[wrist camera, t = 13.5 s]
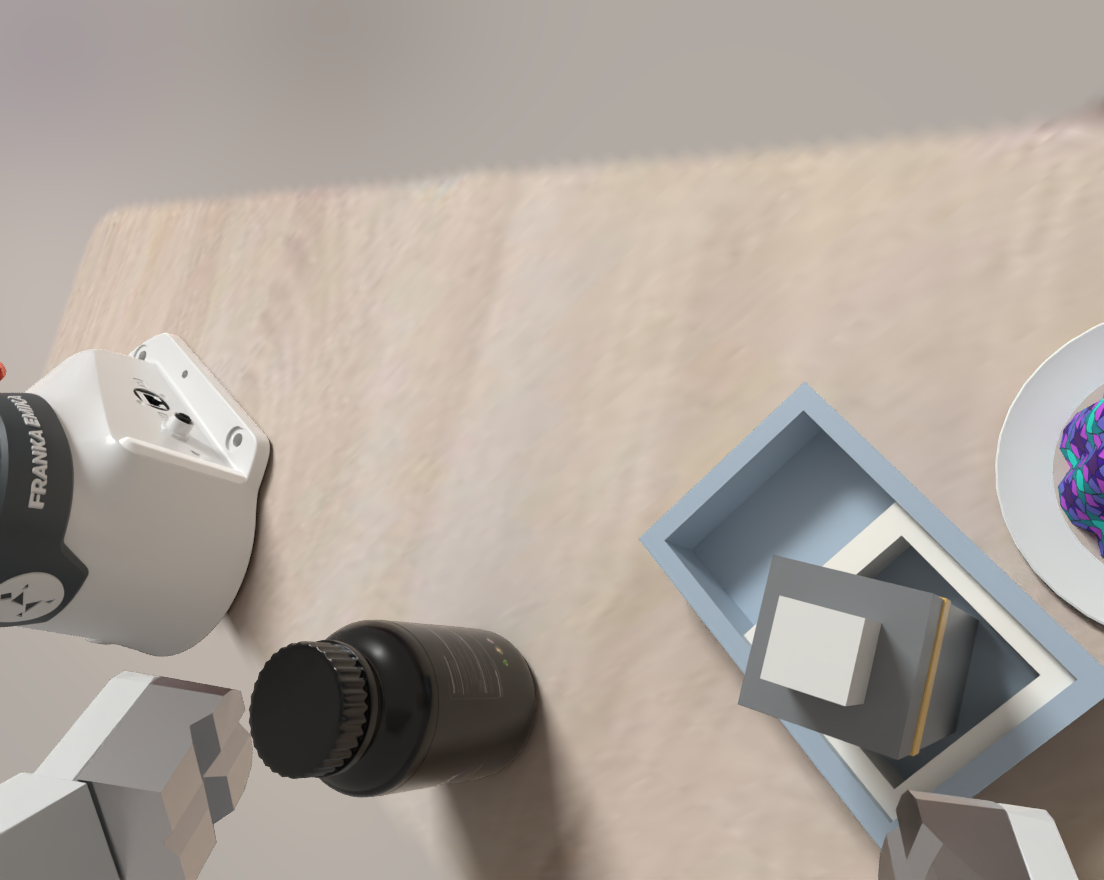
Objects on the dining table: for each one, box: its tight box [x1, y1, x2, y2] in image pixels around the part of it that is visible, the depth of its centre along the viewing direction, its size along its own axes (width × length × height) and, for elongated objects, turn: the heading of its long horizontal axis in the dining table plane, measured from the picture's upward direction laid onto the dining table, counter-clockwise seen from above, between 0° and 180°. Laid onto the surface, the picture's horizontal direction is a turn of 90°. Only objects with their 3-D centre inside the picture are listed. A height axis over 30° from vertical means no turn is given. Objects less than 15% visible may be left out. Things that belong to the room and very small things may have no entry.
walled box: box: [639, 382, 1104, 849], centre depth 32 cm, size 14×9×4 cm, turn 38°
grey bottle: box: [738, 555, 979, 760], centre depth 26 cm, size 4×4×14 cm
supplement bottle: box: [249, 620, 536, 797], centre depth 36 cm, size 7×7×12 cm
